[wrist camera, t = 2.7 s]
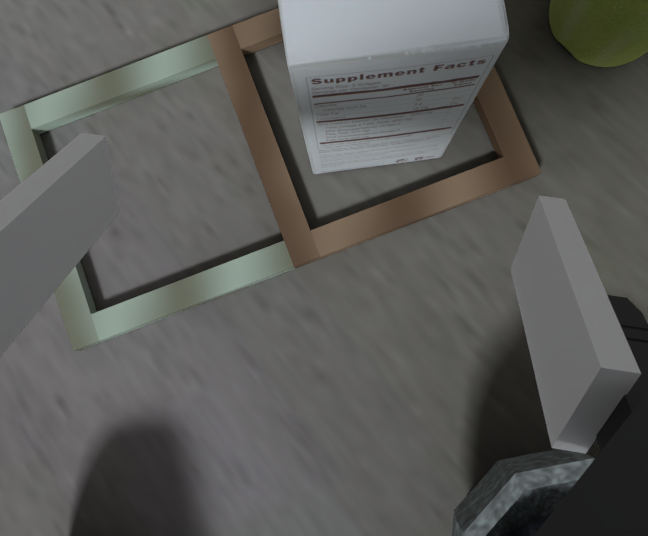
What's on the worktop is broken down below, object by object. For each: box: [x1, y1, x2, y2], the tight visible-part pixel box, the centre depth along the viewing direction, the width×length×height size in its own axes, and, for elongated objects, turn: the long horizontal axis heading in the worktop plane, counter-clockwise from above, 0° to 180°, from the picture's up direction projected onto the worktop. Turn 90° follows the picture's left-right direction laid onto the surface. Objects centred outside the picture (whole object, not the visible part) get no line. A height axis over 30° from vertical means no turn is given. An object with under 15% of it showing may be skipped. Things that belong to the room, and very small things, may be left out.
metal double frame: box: [0, 8, 541, 351], centre depth 29 cm, size 26×14×1 cm, turn 111°
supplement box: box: [278, 0, 509, 174], centre depth 23 cm, size 7×7×13 cm
